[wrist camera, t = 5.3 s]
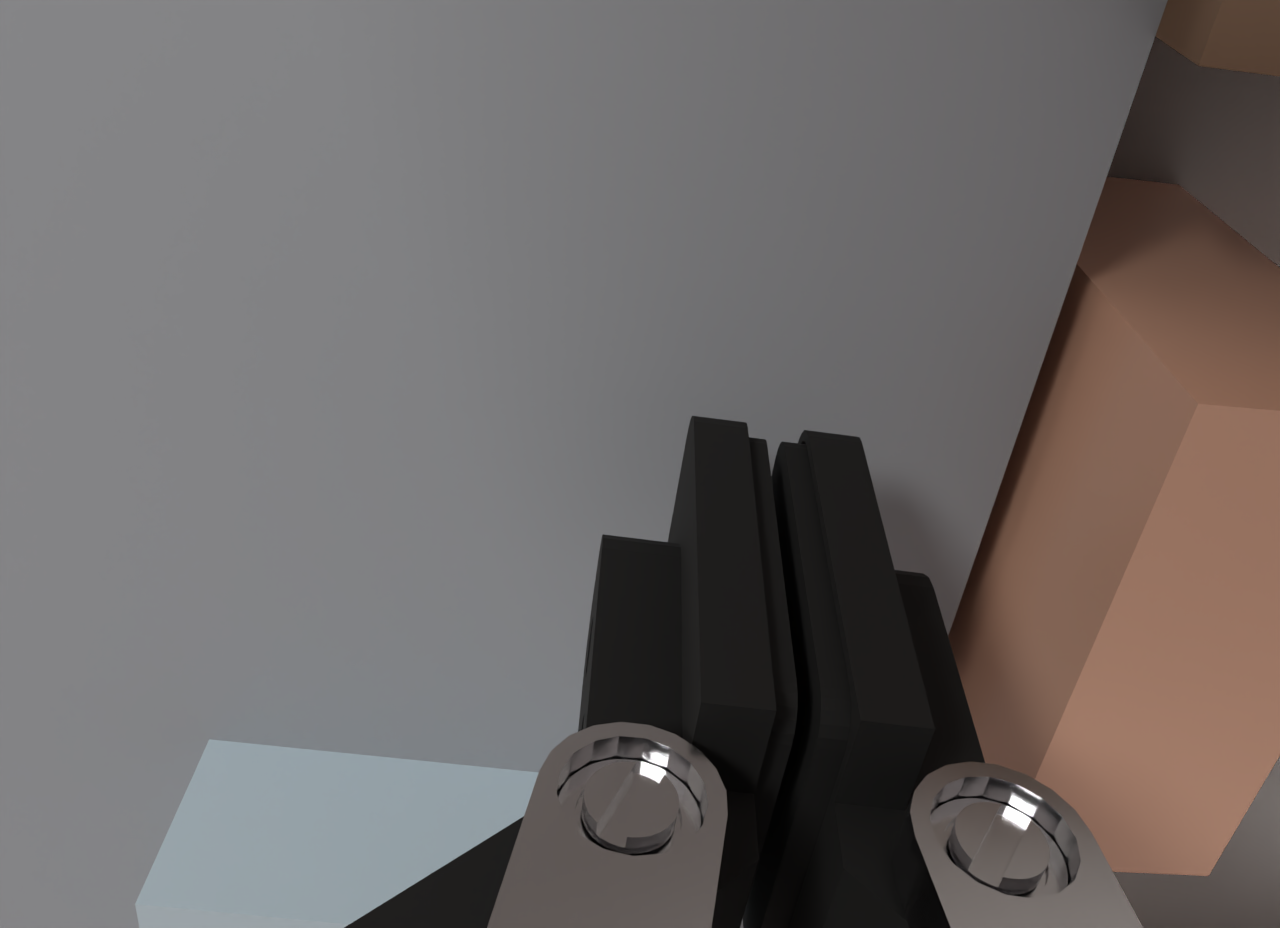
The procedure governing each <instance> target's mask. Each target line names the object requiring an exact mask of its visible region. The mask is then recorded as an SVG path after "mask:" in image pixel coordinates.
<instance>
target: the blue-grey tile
mask: <svg viewBox="0 0 1280 928" xmlns="http://www.w3.org/2000/svg"><path fill="white" fill-rule="evenodd" d="M538 773H539V772H529V771H519V770H509V769H499V768H489V767H479V766H469V765H460V764H450V763H440V762H430V761H420V760H410V759H400V758H390V757H380V756H370V755H360V754H350V753H340V752H330V751H320V750H310V749H300V748H290V747H281V746H271V745H261V744H251V743H241V742H231V741H221V740H211V739H209V741H208V743H207V745H206V748H205V750H204V752H203V754H202V757H201V759H200V761H199V763H198V765H197V768H196V770H195V772H194V774H193V777H192V779H191V781H190V783H189V785H188V788H187V790H186V792H185V794H184V797H183V799H182V801H181V803H180V805H179V808H178V810H177V812H176V814H175V817H174V819H173V821H172V823H171V825H170V828H169V830H168V832H167V834H166V837H165V839H164V841H163V843H162V845H161V848H160V850H159V852H158V854H157V857H156V859H155V861H154V863H153V865H152V868H151V870H150V872H149V874H148V877H147V879H146V881H145V883H144V885H143V888H142V890H141V892H140V894H139V897H138V899H137V901H136V903H135V906H136V912H137V917H138V922H139V928H344V927H346V926H347V925H349V924H351V923H352V922H354V921H355V920H357V919H359V918H360V917H362V916H364V915H365V914H367V913H368V912H370V911H372V910H373V909H375V908H376V907H378V906H380V905H381V904H383V903H385V902H386V901H388V900H389V899H391V898H393V897H394V896H396V895H397V894H399V893H401V892H402V891H404V890H406V889H407V888H409V887H410V886H412V885H414V884H415V883H417V882H418V881H420V880H422V879H423V878H425V877H427V876H428V875H430V874H431V873H433V872H435V871H436V870H438V869H439V868H441V867H443V866H444V865H446V864H448V863H449V862H451V861H452V860H454V859H456V858H457V857H459V856H460V855H462V854H464V853H465V852H467V851H468V850H470V849H472V848H473V847H475V846H477V845H478V844H480V843H481V842H483V841H485V840H486V839H488V838H489V837H491V836H493V835H494V834H496V833H498V832H499V831H501V830H502V829H504V828H506V827H507V826H509V825H510V824H512V823H514V822H515V821H517V820H519V819H520V818H522V817H523V816H524V815H525V812H526V809H527V806H528V803H529V800H530V797H531V794H532V791H533V788H534V785H535V782H536V779H537V776H538Z"/></svg>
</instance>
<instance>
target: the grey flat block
mask: <svg viewBox="0 0 1280 928" xmlns="http://www.w3.org/2000/svg"><path fill="white" fill-rule="evenodd" d="M1167 1H1168V0H0V928H139V922H138V917H137V912H136V906H135V903H136V901H137V899H138V897H139V894H140V892H141V890H142V888H143V885H144V883H145V881H146V879H147V877H148V874H149V872H150V870H151V868H152V865H153V863H154V861H155V859H156V857H157V854H158V852H159V850H160V848H161V845H162V843H163V841H164V839H165V837H166V834H167V832H168V830H169V828H170V825H171V823H172V821H173V819H174V817H175V814H176V812H177V810H178V808H179V805H180V803H181V801H182V799H183V797H184V794H185V792H186V790H187V788H188V785H189V783H190V781H191V779H192V777H193V774H194V772H195V770H196V768H197V765H198V763H199V761H200V759H201V757H202V754H203V752H204V750H205V748H206V745H207V743H208V741H209V739H211V740H221V741H231V742H241V743H251V744H261V745H271V746H281V747H290V748H300V749H310V750H320V751H330V752H340V753H350V754H360V755H370V756H380V757H390V758H400V759H410V760H420V761H430V762H440V763H450V764H460V765H469V766H479V767H489V768H499V769H509V770H519V771H529V772H539V770H540V769H541V767H542V765H543V763H544V762H545V760H546V758H547V756H548V755H549V753H550V751H551V750H552V749H554V748H555V747H556V746H557V745H558V744H560V743H561V742H562V741H563V740H564V739H566V738H567V737H568V736H569V735H571V734H574V733H576V732H578V728H579V717H580V707H581V696H582V686H583V676H584V666H585V657H586V648H587V640H588V631H589V623H590V615H591V608H592V600H593V593H594V586H595V579H596V572H597V565H598V558H599V551H600V545H601V539H602V535H603V534H604V535H612V536H621V537H629V538H637V539H645V540H653V541H662V542H668V538H669V532H670V526H671V521H672V515H673V510H674V504H675V499H676V493H677V488H678V482H679V477H680V471H681V465H682V460H683V454H684V449H685V443H686V438H687V433H688V428H689V423H690V420H691V417H692V416H699V417H707V418H715V419H723V420H731V421H739V422H745V423H747V426H748V434H749V437H751V438H759V439H765V440H766V442H767V447H768V455H769V463H770V471H771V476H772V471H773V467H774V463H775V458H776V454H777V451H778V448H779V445H780V443H781V442H782V441H783V442H790V443H798V441H799V438H800V436H801V434H802V432H803V431H804V430H809V431H817V432H825V433H833V434H841V435H849V436H857V437H860V439H861V441H862V444H863V448H864V452H865V456H866V460H867V464H868V468H869V472H870V475H871V479H872V483H873V487H874V491H875V495H876V499H877V503H878V507H879V511H880V515H881V519H882V522H883V526H884V530H885V534H886V538H887V542H888V546H889V550H890V554H891V558H892V562H893V566H894V569H895V570H900V571H908V572H917V573H924V574H925V575H926V576H928V577H929V578H930V581H931V583H932V585H933V587H934V590H935V594H936V597H937V601H938V604H939V607H940V611H941V614H942V618H943V621H944V624H945V628H946V631H947V634H948V635H949V633H950V630H951V627H952V624H953V621H954V618H955V615H956V612H957V609H958V606H959V604H960V601H961V598H962V595H963V592H964V589H965V586H966V583H967V580H968V577H969V575H970V572H971V569H972V566H973V563H974V560H975V557H976V554H977V551H978V549H979V546H980V543H981V540H982V537H983V534H984V531H985V528H986V525H987V522H988V520H989V517H990V514H991V511H992V508H993V505H994V502H995V499H996V496H997V493H998V491H999V488H1000V485H1001V482H1002V479H1003V476H1004V473H1005V470H1006V467H1007V464H1008V462H1009V459H1010V456H1011V453H1012V450H1013V447H1014V444H1015V441H1016V438H1017V436H1018V433H1019V430H1020V427H1021V424H1022V421H1023V418H1024V415H1025V412H1026V409H1027V407H1028V404H1029V401H1030V398H1031V395H1032V392H1033V389H1034V386H1035V383H1036V380H1037V378H1038V375H1039V372H1040V369H1041V366H1042V363H1043V360H1044V357H1045V354H1046V351H1047V349H1048V346H1049V343H1050V340H1051V337H1052V334H1053V331H1054V328H1055V325H1056V323H1057V320H1058V317H1059V314H1060V311H1061V308H1062V305H1063V302H1064V299H1065V296H1066V294H1067V291H1068V288H1069V285H1070V282H1071V279H1072V276H1073V273H1074V270H1075V267H1076V265H1077V262H1078V259H1079V256H1080V253H1081V250H1082V247H1083V244H1084V241H1085V238H1086V236H1087V233H1088V230H1089V227H1090V224H1091V221H1092V218H1093V215H1094V212H1095V210H1096V207H1097V204H1098V201H1099V198H1100V195H1101V192H1102V189H1103V186H1104V183H1105V181H1106V178H1107V175H1108V172H1109V169H1110V166H1111V163H1112V160H1113V157H1114V154H1115V152H1116V149H1117V146H1118V143H1119V140H1120V137H1121V134H1122V131H1123V128H1124V125H1125V123H1126V120H1127V117H1128V114H1129V111H1130V108H1131V105H1132V102H1133V99H1134V97H1135V94H1136V91H1137V88H1138V85H1139V82H1140V79H1141V76H1142V73H1143V70H1144V68H1145V65H1146V62H1147V59H1148V56H1149V53H1150V50H1151V47H1152V44H1153V41H1154V39H1155V36H1156V33H1157V30H1158V27H1159V24H1160V21H1161V18H1162V15H1163V12H1164V10H1165V7H1166V4H1167ZM740 928H743V919H742V922H741V926H740Z"/></svg>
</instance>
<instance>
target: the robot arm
mask: <svg viewBox="0 0 1280 928" xmlns="http://www.w3.org/2000/svg"><path fill="white" fill-rule="evenodd" d="M742 919H743V928H1143V926H1142V925H1141V923H1140V921H1139V919H1138V917H1137V915H1136V913H1135V912H1134V910H1133V908H1132V906H1131V904H1130V902H1129V901H1128V899H1127V897H1126V895H1125V893H1124V891H1123V889H1122V888H1121V886H1120V884H1119V882H1118V880H1117V878H1116V877H1115V875H1114V873H1113V871H1112V869H1111V867H1110V865H1109V864H1108V862H1107V860H1106V858H1105V856H1104V854H1103V853H1102V851H1101V849H1100V847H1099V845H1098V843H1097V841H1096V840H1095V838H1094V836H1093V834H1092V832H1091V831H1090V830H1089V828H1088V827H1087V825H1086V824H1085V823H1084V821H1083V820H1082V819H1081V817H1080V816H1079V814H1078V813H1077V812H1076V810H1075V809H1074V808H1073V807H1071V806H1070V805H1069V804H1068V803H1067V802H1066V801H1065V800H1064V799H1062V798H1061V797H1060V796H1059V795H1058V794H1057V793H1056V792H1054V791H1053V790H1052V789H1050V788H1049V787H1047V786H1045V785H1043V784H1042V783H1040V782H1038V781H1037V780H1035V779H1033V778H1031V777H1030V776H1028V775H1026V774H1023V773H1021V772H1018V771H1015V770H1012V769H1009V768H1006V767H1003V766H1000V765H996V764H988V763H985V760H984V757H983V753H982V750H981V746H980V743H979V740H978V736H977V733H976V730H975V726H974V723H973V719H972V716H971V713H970V709H969V706H968V702H967V699H966V696H965V692H964V689H963V685H962V682H961V679H960V675H959V672H958V668H957V665H956V662H955V658H954V655H953V651H952V648H951V645H950V641H949V638H948V634H947V631H946V628H945V624H944V621H943V618H942V614H941V611H940V607H939V604H938V601H937V597H936V594H935V590H934V587H933V585H932V583H931V581H930V578H929V577H928V576H926V575H925V574H924V573H917V572H908V571H900V570H895V569H894V566H893V562H892V558H891V554H890V550H889V546H888V542H887V538H886V534H885V530H884V526H883V522H882V519H881V515H880V511H879V507H878V503H877V499H876V495H875V491H874V487H873V483H872V479H871V475H870V472H869V468H868V464H867V460H866V456H865V452H864V448H863V444H862V441H861V439H860V437H857V436H849V435H841V434H833V433H825V432H817V431H809V430H804V431H803V432H802V434H801V436H800V438H799V441H798V443H790V442H783V441H782V442H781V443H780V445H779V448H778V451H777V454H776V458H775V463H774V467H773V471H772V476H771V471H770V463H769V455H768V447H767V442H766V440H765V439H759V438H751V437H749V434H748V426H747V423H745V422H739V421H731V420H723V419H715V418H707V417H699V416H692V417H691V420H690V423H689V428H688V433H687V438H686V443H685V449H684V454H683V460H682V465H681V471H680V477H679V482H678V488H677V493H676V499H675V504H674V510H673V515H672V521H671V526H670V532H669V538H668V542H662V541H653V540H645V539H637V538H629V537H621V536H612V535H604V534H603V535H602V539H601V545H600V551H599V558H598V565H597V572H596V579H595V586H594V593H593V600H592V608H591V615H590V623H589V631H588V640H587V648H586V657H585V666H584V676H583V686H582V696H581V707H580V717H579V728H578V732H576V733H574V734H571V735H569V736H568V737H567V738H566V739H564V740H563V741H562V742H561V743H560V744H558V745H557V746H556V747H555V748H554V749H552V750H551V751H550V753H549V755H548V756H547V758H546V760H545V762H544V763H543V765H542V767H541V769H540V770H539V773H538V776H537V779H536V782H535V785H534V788H533V791H532V794H531V797H530V800H529V803H528V806H527V809H526V812H525V815H524V816H523V817H522V818H520V819H519V820H517V821H515V822H514V823H512V824H510V825H509V826H507V827H506V828H504V829H502V830H501V831H499V832H498V833H496V834H494V835H493V836H491V837H489V838H488V839H486V840H485V841H483V842H481V843H480V844H478V845H477V846H475V847H473V848H472V849H470V850H468V851H467V852H465V853H464V854H462V855H460V856H459V857H457V858H456V859H454V860H452V861H451V862H449V863H448V864H446V865H444V866H443V867H441V868H439V869H438V870H436V871H435V872H433V873H431V874H430V875H428V876H427V877H425V878H423V879H422V880H420V881H418V882H417V883H415V884H414V885H412V886H410V887H409V888H407V889H406V890H404V891H402V892H401V893H399V894H397V895H396V896H394V897H393V898H391V899H389V900H388V901H386V902H385V903H383V904H381V905H380V906H378V907H376V908H375V909H373V910H372V911H370V912H368V913H367V914H365V915H364V916H362V917H360V918H359V919H357V920H355V921H354V922H352V923H351V924H349V925H347V926H346V927H344V928H740V926H741V922H742Z"/></svg>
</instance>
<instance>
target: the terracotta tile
mask: <svg viewBox="0 0 1280 928" xmlns="http://www.w3.org/2000/svg"><path fill="white" fill-rule="evenodd" d="M948 638H949V641H950V645H951V648H952V651H953V655H954V658H955V662H956V665H957V668H958V672H959V675H960V679H961V682H962V685H963V689H964V692H965V696H966V699H967V702H968V706H969V709H970V713H971V716H972V719H973V723H974V726H975V730H976V733H977V736H978V740H979V743H980V746H981V750H982V753H983V757H984V760H985V763H988V764H996V765H1000V766H1003V767H1006V768H1009V769H1012V770H1015V771H1018V772H1021V773H1023V774H1026V775H1028V776H1030V777H1031V778H1033V779H1035V780H1037V781H1038V782H1040V783H1042V784H1043V785H1045V786H1047V787H1049V788H1050V789H1052V790H1053V791H1054V792H1056V793H1057V794H1058V795H1059V796H1060V797H1061V798H1062V799H1064V800H1065V801H1066V802H1067V803H1068V804H1069V805H1070V806H1071V807H1073V808H1074V809H1075V810H1076V812H1077V813H1078V814H1079V816H1080V817H1081V819H1082V820H1083V821H1084V823H1085V824H1086V825H1087V827H1088V828H1089V830H1090V831H1091V832H1092V834H1093V836H1094V838H1095V840H1096V841H1097V843H1098V845H1099V847H1100V849H1101V851H1102V853H1103V854H1104V856H1105V858H1106V860H1107V862H1108V864H1109V865H1110V867H1111V869H1112V871H1113V872H1130V873H1152V874H1174V875H1197V876H1209V875H1210V873H1211V871H1212V869H1213V868H1214V866H1215V864H1216V863H1217V861H1218V859H1219V858H1220V856H1221V854H1222V852H1223V851H1224V849H1225V847H1226V846H1227V844H1228V842H1229V841H1230V839H1231V837H1232V836H1233V834H1234V832H1235V830H1236V829H1237V827H1238V825H1239V824H1240V822H1241V820H1242V819H1243V817H1244V815H1245V814H1246V812H1247V810H1248V808H1249V807H1250V805H1251V803H1252V802H1253V800H1254V798H1255V797H1256V795H1257V793H1258V792H1259V790H1260V788H1261V786H1262V785H1263V783H1264V781H1265V780H1266V778H1267V776H1268V775H1269V773H1270V771H1271V770H1272V768H1273V766H1274V764H1275V763H1276V761H1277V759H1278V758H1279V756H1280V268H1279V267H1278V266H1277V265H1276V264H1274V263H1273V262H1272V261H1271V260H1270V259H1268V258H1267V257H1266V256H1265V255H1264V254H1262V253H1261V252H1260V251H1259V250H1257V249H1256V248H1255V247H1254V246H1253V245H1251V244H1250V243H1249V242H1248V241H1247V240H1245V239H1244V238H1243V237H1242V236H1240V235H1239V234H1238V233H1237V232H1236V231H1234V230H1233V229H1232V228H1231V227H1230V226H1228V225H1227V224H1226V223H1225V222H1224V221H1222V220H1221V219H1220V218H1219V217H1217V216H1216V215H1215V214H1214V213H1213V212H1211V211H1210V210H1209V209H1208V208H1207V207H1205V206H1204V205H1203V204H1202V203H1200V202H1199V201H1198V200H1197V199H1196V198H1194V197H1193V196H1192V195H1191V194H1190V193H1188V192H1187V191H1186V190H1185V189H1183V188H1182V187H1181V186H1180V185H1177V184H1169V183H1161V182H1153V181H1143V180H1134V179H1124V178H1115V177H1107V178H1106V181H1105V183H1104V186H1103V189H1102V192H1101V195H1100V198H1099V201H1098V204H1097V207H1096V210H1095V212H1094V215H1093V218H1092V221H1091V224H1090V227H1089V230H1088V233H1087V236H1086V238H1085V241H1084V244H1083V247H1082V250H1081V253H1080V256H1079V259H1078V262H1077V265H1076V267H1075V270H1074V273H1073V276H1072V279H1071V282H1070V285H1069V288H1068V291H1067V294H1066V296H1065V299H1064V302H1063V305H1062V308H1061V311H1060V314H1059V317H1058V320H1057V323H1056V325H1055V328H1054V331H1053V334H1052V337H1051V340H1050V343H1049V346H1048V349H1047V351H1046V354H1045V357H1044V360H1043V363H1042V366H1041V369H1040V372H1039V375H1038V378H1037V380H1036V383H1035V386H1034V389H1033V392H1032V395H1031V398H1030V401H1029V404H1028V407H1027V409H1026V412H1025V415H1024V418H1023V421H1022V424H1021V427H1020V430H1019V433H1018V436H1017V438H1016V441H1015V444H1014V447H1013V450H1012V453H1011V456H1010V459H1009V462H1008V464H1007V467H1006V470H1005V473H1004V476H1003V479H1002V482H1001V485H1000V488H999V491H998V493H997V496H996V499H995V502H994V505H993V508H992V511H991V514H990V517H989V520H988V522H987V525H986V528H985V531H984V534H983V537H982V540H981V543H980V546H979V549H978V551H977V554H976V557H975V560H974V563H973V566H972V569H971V572H970V575H969V577H968V580H967V583H966V586H965V589H964V592H963V595H962V598H961V601H960V604H959V606H958V609H957V612H956V615H955V618H954V621H953V624H952V627H951V630H950V633H949V635H948Z"/></svg>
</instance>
